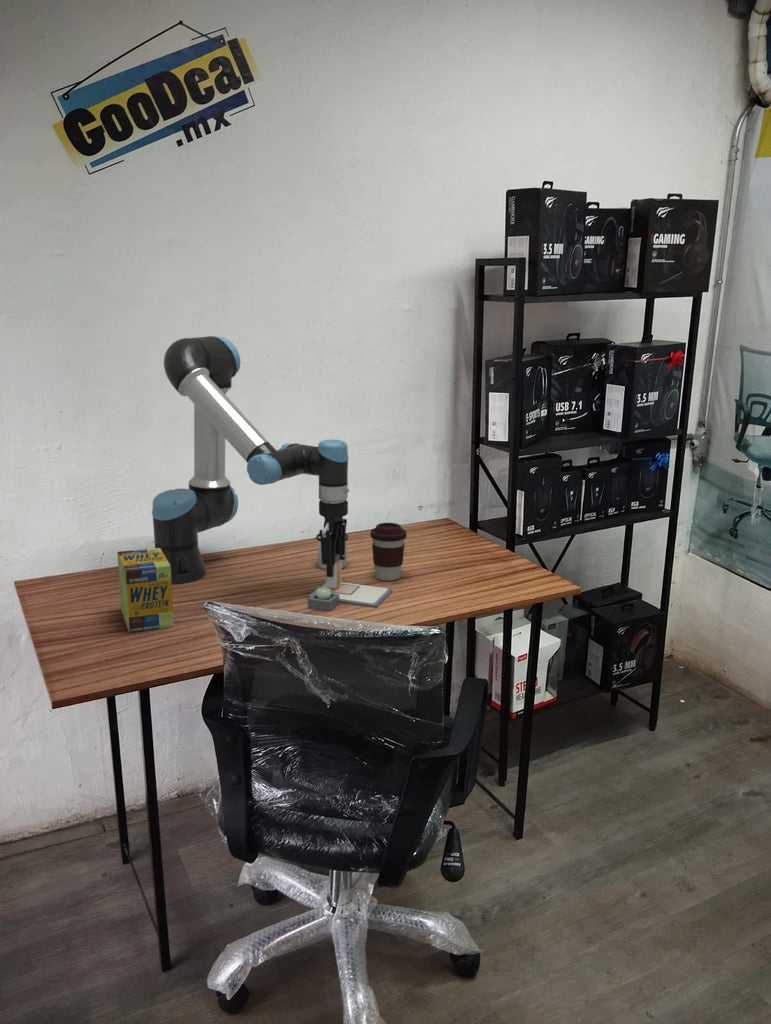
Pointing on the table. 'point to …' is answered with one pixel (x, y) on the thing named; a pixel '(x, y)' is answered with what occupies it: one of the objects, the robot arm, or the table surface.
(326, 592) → the button
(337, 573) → the marker
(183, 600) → the table surface
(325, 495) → the robot arm
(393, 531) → the coffee cup
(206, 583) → the table surface
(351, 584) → the picture board
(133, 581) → the protein box
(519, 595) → the table surface
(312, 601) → the button housing
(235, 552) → the table surface
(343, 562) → the mug
